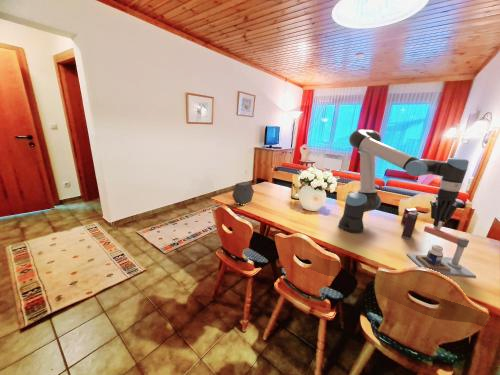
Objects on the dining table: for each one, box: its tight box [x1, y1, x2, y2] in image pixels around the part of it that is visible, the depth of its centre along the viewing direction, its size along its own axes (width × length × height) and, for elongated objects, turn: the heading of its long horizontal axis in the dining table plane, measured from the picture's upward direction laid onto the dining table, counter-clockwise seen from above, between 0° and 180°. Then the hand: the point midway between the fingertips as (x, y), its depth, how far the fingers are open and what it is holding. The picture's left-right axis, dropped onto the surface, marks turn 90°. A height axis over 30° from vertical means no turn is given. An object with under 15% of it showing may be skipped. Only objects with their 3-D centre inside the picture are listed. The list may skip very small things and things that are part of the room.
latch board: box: [406, 245, 477, 278], centre depth 101 cm, size 22×14×12 cm, turn 85°
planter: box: [231, 181, 255, 206], centre depth 171 cm, size 17×8×21 cm
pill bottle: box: [425, 244, 444, 266], centre depth 101 cm, size 5×5×10 cm
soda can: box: [400, 207, 419, 227], centre depth 146 cm, size 7×7×12 cm
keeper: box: [423, 225, 470, 248], centre depth 104 cm, size 4×17×3 cm, turn 26°
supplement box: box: [401, 211, 419, 240], centre depth 129 cm, size 9×5×16 cm, turn 137°
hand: (435, 231), depth 110 cm, fingers closed
